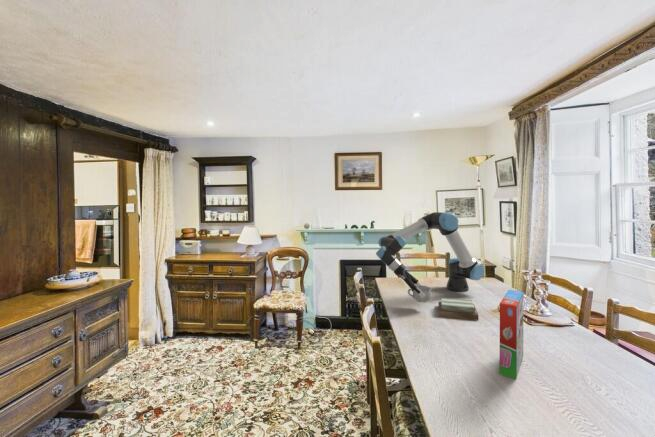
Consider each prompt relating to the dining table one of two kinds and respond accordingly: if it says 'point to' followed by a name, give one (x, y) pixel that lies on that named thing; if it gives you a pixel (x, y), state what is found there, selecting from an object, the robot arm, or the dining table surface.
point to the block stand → (457, 309)
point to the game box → (511, 333)
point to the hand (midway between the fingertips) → (424, 293)
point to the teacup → (425, 290)
